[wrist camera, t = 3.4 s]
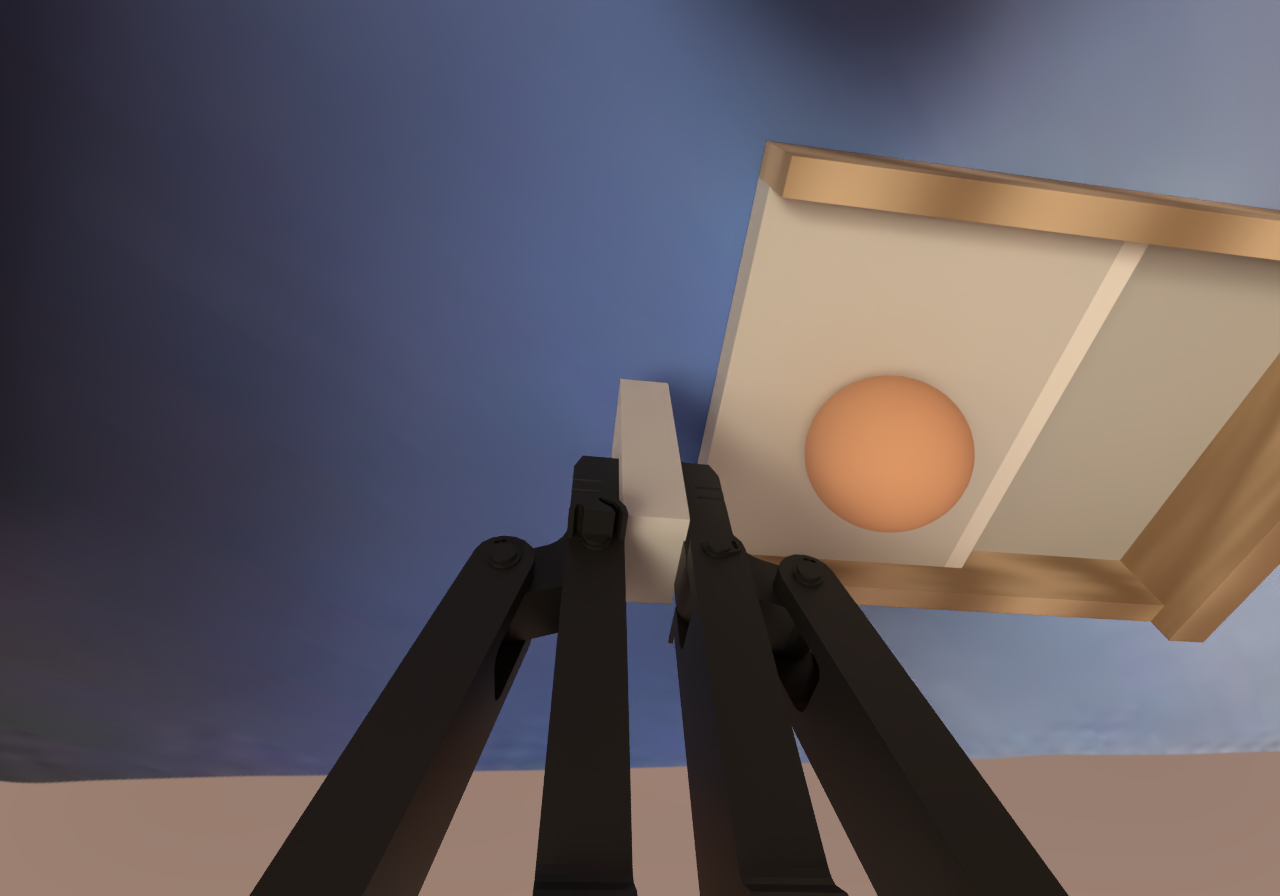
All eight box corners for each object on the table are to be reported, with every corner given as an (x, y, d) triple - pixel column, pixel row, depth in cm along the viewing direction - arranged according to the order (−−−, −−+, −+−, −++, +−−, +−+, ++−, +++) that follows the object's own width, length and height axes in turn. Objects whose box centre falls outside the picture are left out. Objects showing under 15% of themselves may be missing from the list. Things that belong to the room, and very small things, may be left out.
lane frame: (680, 543, 26) (690, 614, 23) (766, 141, 18) (802, 161, 14) (1134, 573, 29) (1202, 642, 25) (1410, 228, 20) (1571, 264, 16)
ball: (773, 465, 22) (810, 561, 18) (810, 342, 20) (864, 420, 15) (900, 476, 23) (964, 571, 19) (953, 357, 20) (1042, 436, 16)
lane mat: (684, 526, 26) (687, 550, 25) (759, 177, 18) (769, 186, 17) (1115, 555, 28) (1138, 579, 27) (1345, 253, 20) (1393, 266, 19)
